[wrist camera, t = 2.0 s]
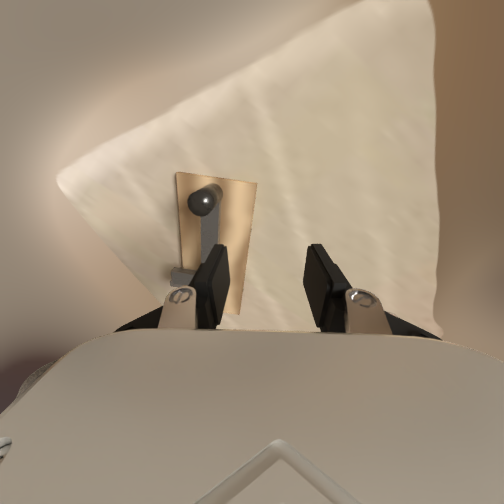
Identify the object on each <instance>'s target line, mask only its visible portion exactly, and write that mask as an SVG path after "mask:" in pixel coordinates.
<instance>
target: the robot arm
mask: <svg viewBox="0 0 504 504" xmlns="http://www.w3.org/2000/svg"><path fill="white" fill-rule="evenodd" d="M303 285H304V288H305V291H306V295H307V298H308V301H309V304H310V307H311V311H312V314H313V317H314V320H315V324H316V326H317V327H320V330H321V332H303V331H269V330H229V329H216V326H217V325H220V322H221V318H222V314H223V311H224V307H225V303H226V299H227V295H228V291H229V287H230V271H229V261H228V252H227V246H224V244H214V246H213V248H212V250H211V252H210V254H209V255H208V257H207V259H206V261H205V263H201V264H200V266H199V268H198V269H197V271H196V273H195V275H194V276H193V278H192V280H191V282H190V283H189V285H188V286H182V287H178V288H176V289H174V290H172V291H171V292H169V293H168V295H167V296H166V298H165V302H164V305H163V306H161V307H160V308H157V309H155V310H153V311H151V312H149V313H147V314H145V315H143V316H141V317H139V318H137V319H135V320H133V321H131V322H129V323H128V324H125V325H123V326H122V327H120V328H119V329H117V330H116V331H115V332H113V333H111V334H108V335H104V336H100V337H98V338H95V339H92V340H90V341H87V342H85V343H83V344H81V345H79V346H77V347H75V348H74V349H72V350H71V351H70V352H68V353H67V354H65V356H63V357H62V358H60V359H58V360H56V361H54V362H51V363H49V364H47V365H45V366H43V367H42V368H40V369H38V370H37V371H36V372H34V373H33V374H32V375H30V376H29V378H28V379H26V381H25V382H24V383H23V384H22V386H21V388H20V390H19V392H18V395H17V398H16V400H15V401H14V402H13V403H12V404H11V405H10V406H9V407H8V408H7V409H6V410H5V411H4V412H3V413H2V414H0V504H504V362H502V361H500V360H498V359H496V358H494V357H491V356H489V355H487V354H485V353H482V352H479V351H476V350H474V349H470V348H467V347H464V346H461V345H457V344H454V343H450V342H446V341H443V340H441V339H440V338H438V337H437V336H435V335H433V334H431V333H429V332H427V331H425V330H423V329H421V328H419V327H417V326H415V325H413V324H410V323H408V322H406V321H404V320H402V319H400V318H398V317H397V316H396V315H394V314H392V313H388V312H386V311H384V310H383V307H382V304H381V302H380V300H379V298H377V297H376V296H375V295H374V294H372V293H371V292H369V291H366V290H363V289H358V288H352V286H351V285H350V284H349V282H348V281H347V279H346V278H345V276H344V275H343V273H342V272H341V270H340V269H339V267H338V266H337V265H336V264H334V263H333V261H332V260H331V258H330V257H329V255H328V254H327V252H326V251H325V249H324V248H323V246H322V244H311V246H308V249H307V256H306V263H305V271H304V278H303Z"/></svg>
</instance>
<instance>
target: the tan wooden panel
mask: <svg viewBox="0 0 504 504" xmlns="http://www.w3.org/2000/svg"><path fill="white" fill-rule="evenodd" d="M176 179H177V193H178V207H179V220H180V234H181V248H182V261H183V268H184V269H191V270H197V269H198V268H199V266H200V264H201V217H200V216H196V215H194V214H193V213H192V212H191V211H190V210H189V208H188V205H187V200H188V197H189V195H190V194H192V193H193V192H195V191H197V190H199V189H201V188H203V187H204V186H206V185H208V184H211V183H215V184H217V185H219V186H220V187H221V189H222V191H223V198H222V200H221V220H220V243H219V244H224V246H227V252H228V261H229V271H230V287H229V291H228V295H227V299H226V303H225V307H224V311H223V313H230V314H238V315H239V314H240V307H241V300H242V292H243V285H244V278H245V270H246V263H247V256H248V248H249V241H250V233H251V226H252V219H253V211H254V204H255V197H256V189H257V183H252V182H245V181H238V180H231V179H225V178H218V177H211V176H204V175H197V174H190V173H183V172H176ZM184 286H186V285H184Z"/></svg>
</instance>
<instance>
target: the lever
mask: <svg viewBox="0 0 504 504" xmlns="http://www.w3.org/2000/svg"><path fill="white" fill-rule="evenodd" d="M222 198H223V191H222V189H221V187H220V186H219V185H217V184H215V183H211V184H208V185H206V186H204V187H203V188H201V189H199V190H197V191H195V192H193V193H192V194H190V195H189V197H188V200H187V205H188V208H189V210H190V211H191V212H192V213H193V214H194V215H196V216H200V217H201V263H205V261H206V259H207V257H208V255H209V254H210V252H211V250H212V248H213V246H214V244H219V243H220V220H221V200H222ZM196 271H197V270H191V269H184V268H176V267H174V269H173V270H172V271H171V276H172V279H171V281H170V285H171V286H173V287H182V286H184V285H186V286H188V285H189V283H190V282H191V280H192V278H193V276H194V275H195V273H196Z"/></svg>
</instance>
